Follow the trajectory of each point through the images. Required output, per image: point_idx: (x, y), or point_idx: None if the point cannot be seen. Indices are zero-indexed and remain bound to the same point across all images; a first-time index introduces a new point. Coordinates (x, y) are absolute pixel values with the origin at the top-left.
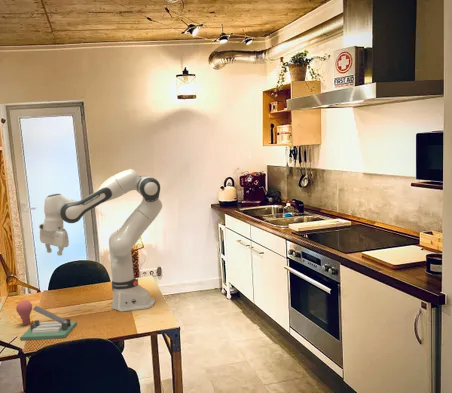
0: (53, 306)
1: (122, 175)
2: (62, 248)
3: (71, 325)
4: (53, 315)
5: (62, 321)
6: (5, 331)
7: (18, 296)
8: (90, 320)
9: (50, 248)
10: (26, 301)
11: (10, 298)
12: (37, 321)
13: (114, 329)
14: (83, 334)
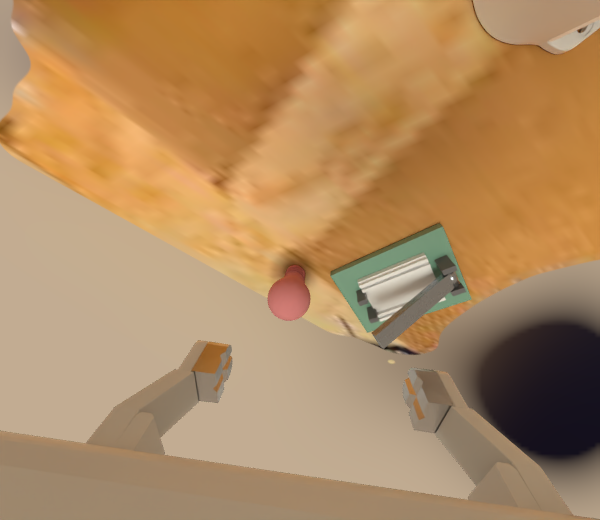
0: (231, 144)
1: None
2: (531, 483)
3: (448, 254)
4: (423, 304)
5: (450, 290)
6: None
7: (29, 128)
8: (467, 184)
9: (191, 375)
10: (294, 309)
11: (37, 155)
12: (366, 302)
13: None
14: (508, 265)
